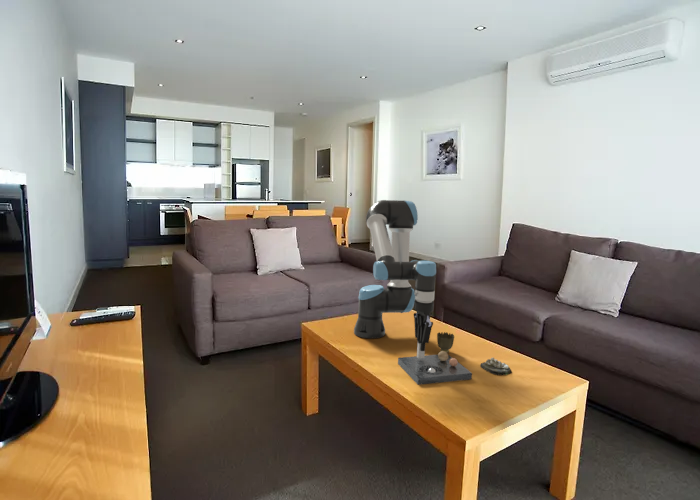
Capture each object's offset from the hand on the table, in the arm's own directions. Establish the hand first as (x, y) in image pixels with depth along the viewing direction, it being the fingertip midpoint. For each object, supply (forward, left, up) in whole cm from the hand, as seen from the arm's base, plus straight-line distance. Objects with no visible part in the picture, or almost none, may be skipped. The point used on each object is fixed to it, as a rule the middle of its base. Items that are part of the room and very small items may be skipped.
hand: (420, 357), depth 169 cm
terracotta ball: (+8, +10, +1) cm, 13 cm away
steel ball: (+10, 0, -2) cm, 10 cm away
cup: (-11, +17, -4) cm, 21 cm away
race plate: (+6, +3, -4) cm, 7 cm away
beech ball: (+3, +8, +1) cm, 9 cm away
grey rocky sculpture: (+9, +29, -4) cm, 30 cm away
